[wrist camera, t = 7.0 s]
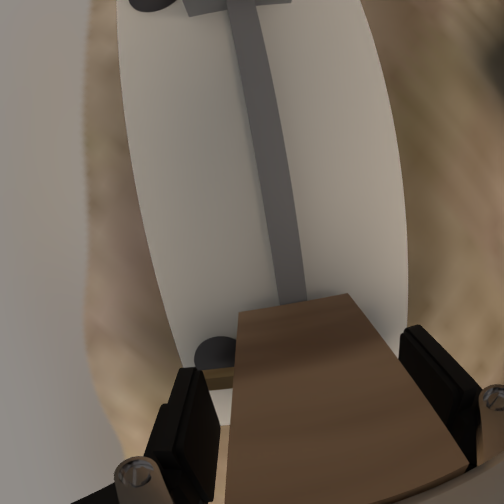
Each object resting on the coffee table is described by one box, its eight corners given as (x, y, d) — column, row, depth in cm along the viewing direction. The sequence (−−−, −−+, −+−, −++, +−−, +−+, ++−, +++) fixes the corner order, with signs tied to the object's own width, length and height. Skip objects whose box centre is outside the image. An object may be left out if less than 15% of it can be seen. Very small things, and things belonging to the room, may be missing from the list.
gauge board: (125, -13, 9) (60, -96, 2) (330, -43, 9) (370, -136, 2) (207, 411, 15) (189, 526, 8) (392, 377, 14) (450, 474, 7)
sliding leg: (164, 321, 11) (74, 504, 3) (347, 292, 11) (469, 463, 3) (198, 417, 12) (170, 577, 4) (350, 395, 12) (410, 549, 4)
